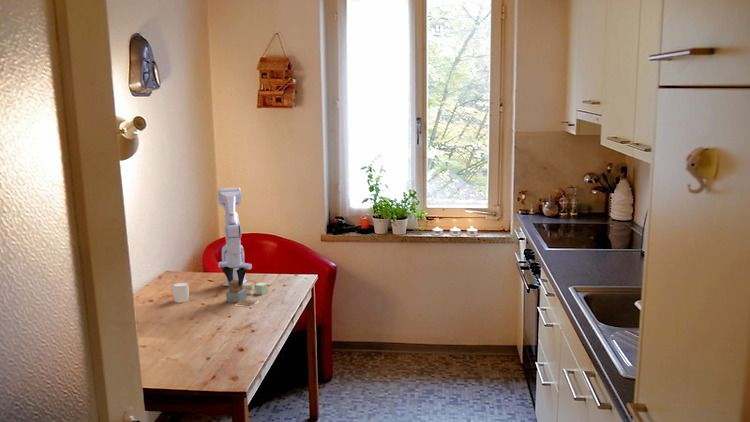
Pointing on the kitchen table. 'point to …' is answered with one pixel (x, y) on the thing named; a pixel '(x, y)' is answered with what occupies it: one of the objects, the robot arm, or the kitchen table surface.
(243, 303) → the swatch
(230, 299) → the slate base
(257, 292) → the sage cube
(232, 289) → the walnut cube
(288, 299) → the kitchen table surface
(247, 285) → the birch cube
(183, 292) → the shot glass
